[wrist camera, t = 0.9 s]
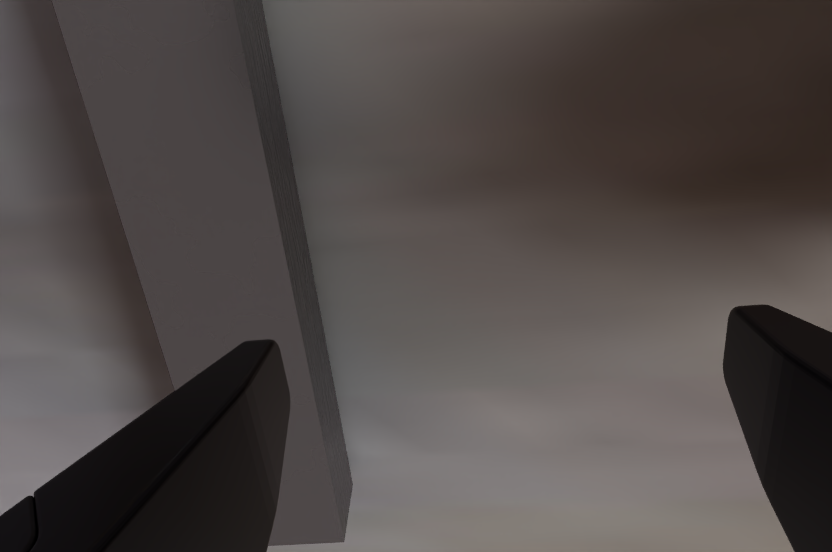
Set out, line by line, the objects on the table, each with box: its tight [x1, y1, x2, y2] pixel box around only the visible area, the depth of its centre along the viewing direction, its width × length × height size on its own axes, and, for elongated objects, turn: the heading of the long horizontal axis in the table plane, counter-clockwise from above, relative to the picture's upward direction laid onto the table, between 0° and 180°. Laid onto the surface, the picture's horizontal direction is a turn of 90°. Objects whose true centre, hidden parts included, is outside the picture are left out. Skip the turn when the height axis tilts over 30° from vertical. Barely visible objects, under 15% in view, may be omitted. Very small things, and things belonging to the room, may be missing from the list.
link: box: [52, 0, 353, 546], centre depth 19 cm, size 24×6×3 cm, turn 6°
